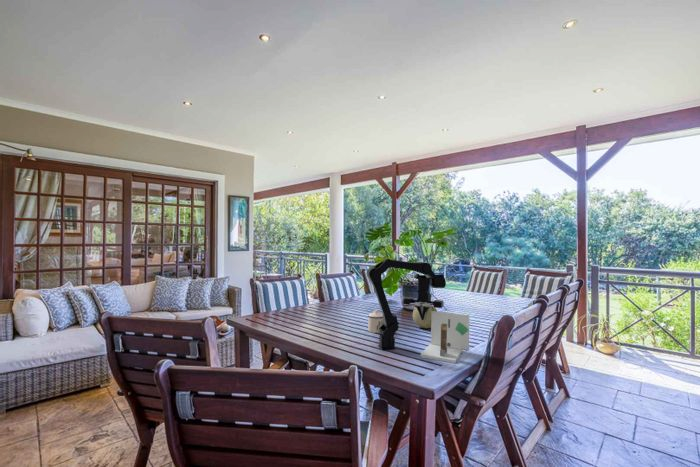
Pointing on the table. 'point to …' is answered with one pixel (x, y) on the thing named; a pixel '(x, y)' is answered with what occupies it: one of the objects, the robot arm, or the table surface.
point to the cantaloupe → (427, 320)
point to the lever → (444, 337)
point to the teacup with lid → (375, 321)
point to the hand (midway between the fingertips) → (422, 320)
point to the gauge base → (448, 336)
